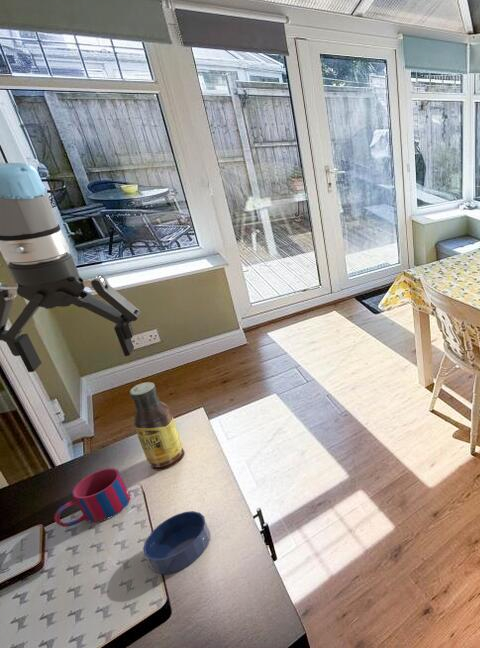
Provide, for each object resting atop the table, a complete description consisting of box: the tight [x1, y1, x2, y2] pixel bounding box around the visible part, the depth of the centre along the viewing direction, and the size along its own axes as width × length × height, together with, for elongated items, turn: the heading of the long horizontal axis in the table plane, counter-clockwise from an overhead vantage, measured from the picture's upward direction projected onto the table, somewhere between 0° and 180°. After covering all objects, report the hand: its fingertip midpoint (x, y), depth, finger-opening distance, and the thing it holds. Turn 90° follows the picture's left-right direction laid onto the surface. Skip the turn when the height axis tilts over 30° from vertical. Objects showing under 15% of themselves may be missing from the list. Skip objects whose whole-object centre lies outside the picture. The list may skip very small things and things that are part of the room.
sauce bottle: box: [129, 381, 184, 467], centre depth 89 cm, size 6×6×20 cm
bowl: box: [142, 510, 211, 575], centre depth 75 cm, size 9×9×4 cm
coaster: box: [150, 449, 186, 471], centre depth 93 cm, size 6×6×1 cm
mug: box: [53, 467, 131, 528], centre depth 79 cm, size 7×10×7 cm
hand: (84, 359), depth 78 cm, fingers open, 13 cm apart
